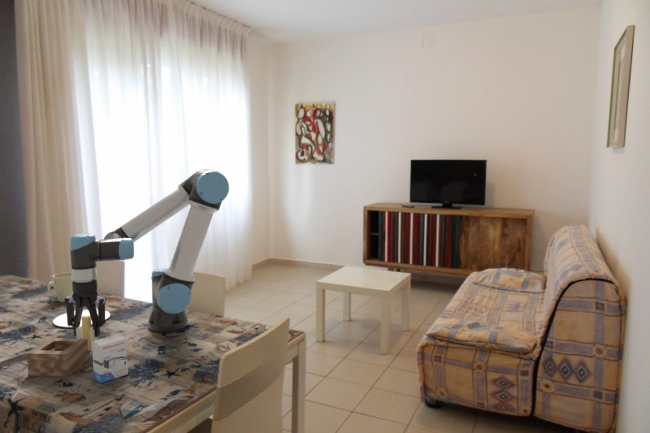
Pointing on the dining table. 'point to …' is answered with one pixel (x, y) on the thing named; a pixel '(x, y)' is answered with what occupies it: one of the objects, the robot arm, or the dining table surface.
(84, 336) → the pin
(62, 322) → the plate
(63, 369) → the bore block
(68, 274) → the mug
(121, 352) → the ink box
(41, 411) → the dining table surface
